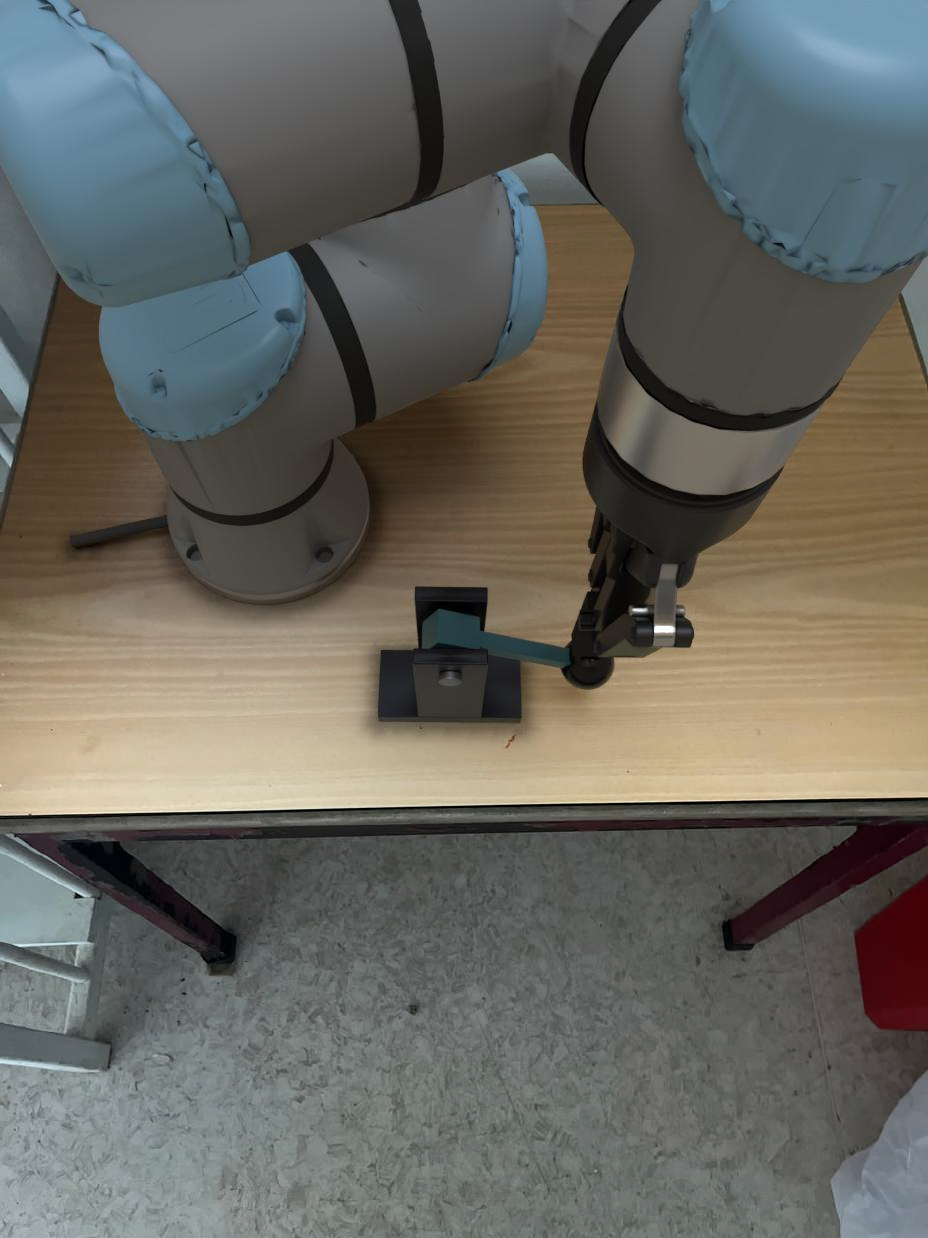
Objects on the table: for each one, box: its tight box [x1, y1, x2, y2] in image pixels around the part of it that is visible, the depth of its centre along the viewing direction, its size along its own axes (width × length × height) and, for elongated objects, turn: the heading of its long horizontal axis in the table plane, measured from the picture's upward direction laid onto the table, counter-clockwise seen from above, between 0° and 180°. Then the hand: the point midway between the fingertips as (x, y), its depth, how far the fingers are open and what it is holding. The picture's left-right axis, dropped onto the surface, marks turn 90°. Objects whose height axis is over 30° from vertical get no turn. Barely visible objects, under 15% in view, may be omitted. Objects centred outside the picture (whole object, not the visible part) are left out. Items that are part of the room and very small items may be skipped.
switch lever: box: [422, 609, 616, 691], centre depth 54 cm, size 13×4×4 cm, turn 90°
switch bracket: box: [377, 585, 522, 724], centre depth 56 cm, size 10×6×12 cm, turn 90°
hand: (593, 645), depth 54 cm, fingers closed
